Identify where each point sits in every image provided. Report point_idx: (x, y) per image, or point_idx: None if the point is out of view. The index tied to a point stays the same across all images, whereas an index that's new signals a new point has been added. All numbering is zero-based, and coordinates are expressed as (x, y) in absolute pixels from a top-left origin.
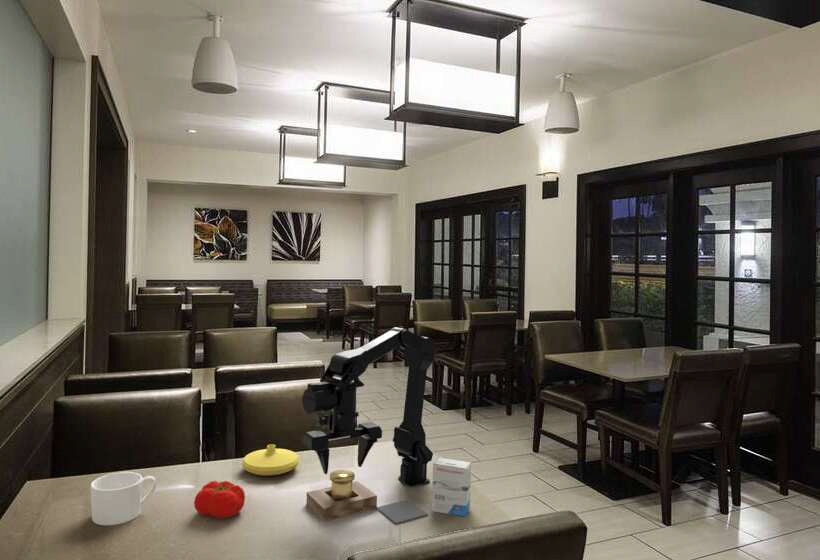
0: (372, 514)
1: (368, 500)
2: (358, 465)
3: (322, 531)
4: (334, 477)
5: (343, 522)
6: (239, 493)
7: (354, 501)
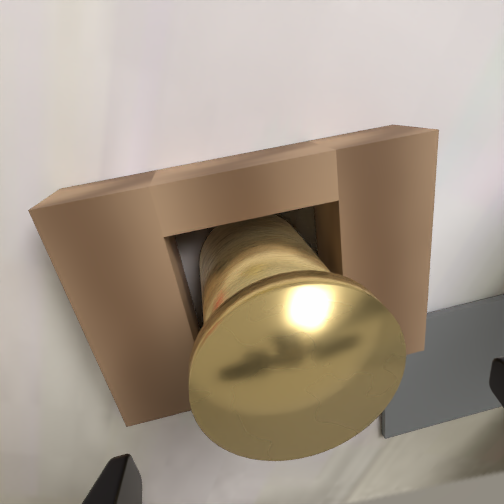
0: None
1: None
2: (497, 371)
3: (118, 439)
4: (219, 422)
5: None
6: None
7: None
